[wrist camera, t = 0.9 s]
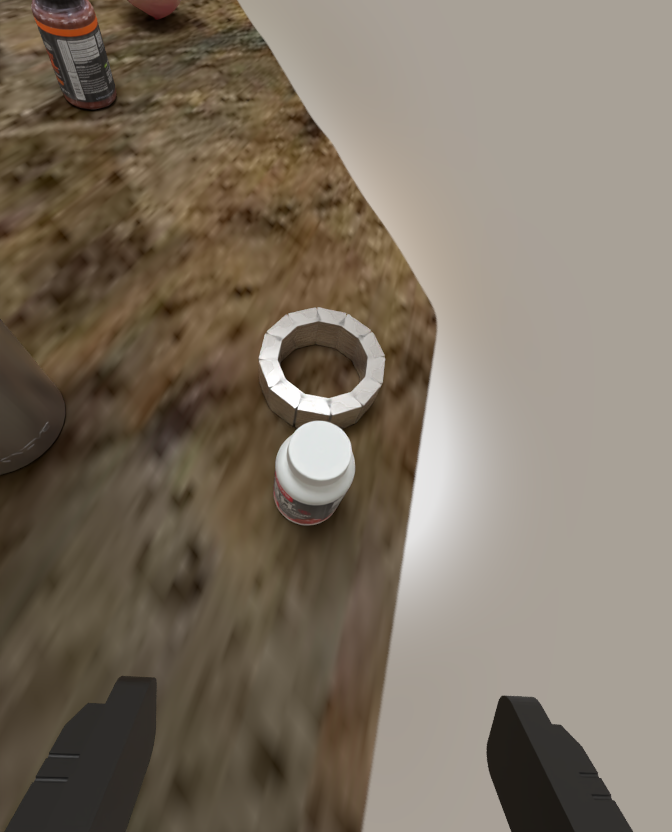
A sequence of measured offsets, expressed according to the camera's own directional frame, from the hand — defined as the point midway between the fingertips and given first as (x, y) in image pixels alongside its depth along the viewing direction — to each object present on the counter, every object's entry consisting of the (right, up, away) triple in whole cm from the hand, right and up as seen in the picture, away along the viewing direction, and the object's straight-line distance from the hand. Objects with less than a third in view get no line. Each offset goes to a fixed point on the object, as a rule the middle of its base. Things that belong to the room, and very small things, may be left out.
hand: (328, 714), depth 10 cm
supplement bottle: (-29, +45, +43) cm, 69 cm away
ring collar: (-1, +10, +30) cm, 32 cm away
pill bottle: (-2, +1, +26) cm, 26 cm away
